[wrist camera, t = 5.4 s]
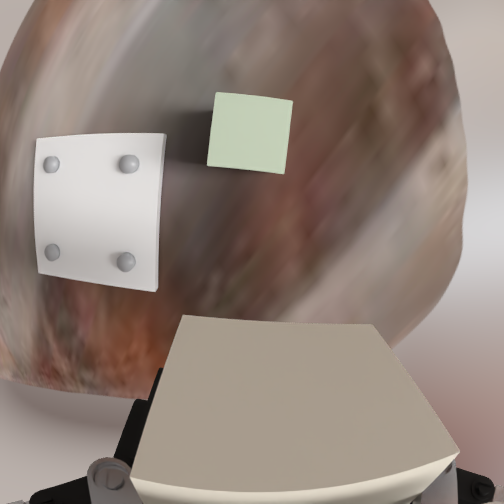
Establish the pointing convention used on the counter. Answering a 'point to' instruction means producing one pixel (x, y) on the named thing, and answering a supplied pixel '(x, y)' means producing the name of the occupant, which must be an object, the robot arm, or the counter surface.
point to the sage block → (249, 132)
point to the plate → (99, 207)
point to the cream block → (286, 419)
